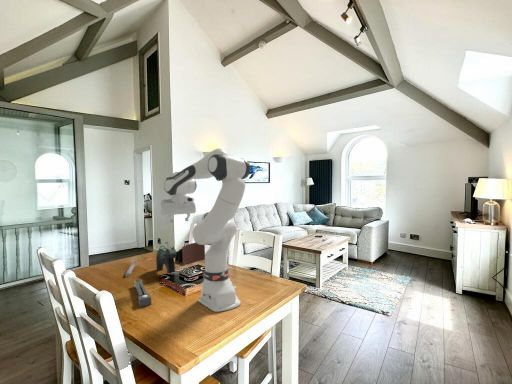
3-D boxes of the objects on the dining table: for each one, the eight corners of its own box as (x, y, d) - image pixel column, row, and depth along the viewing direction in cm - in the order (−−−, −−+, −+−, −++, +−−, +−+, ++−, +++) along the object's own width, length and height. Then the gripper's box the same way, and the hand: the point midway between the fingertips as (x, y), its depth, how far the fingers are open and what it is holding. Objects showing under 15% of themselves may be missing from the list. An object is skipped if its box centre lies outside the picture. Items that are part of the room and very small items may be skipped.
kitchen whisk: (120, 279, 158) (120, 268, 158) (133, 262, 191) (132, 254, 191) (131, 278, 160) (131, 267, 159) (142, 262, 192) (141, 253, 192)
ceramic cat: (177, 275, 164) (177, 243, 163) (168, 277, 159) (167, 245, 158) (162, 267, 177) (162, 238, 177) (153, 270, 173) (152, 240, 172)
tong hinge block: (151, 304, 124) (151, 296, 124) (139, 307, 122) (139, 299, 122) (149, 300, 128) (149, 293, 128) (138, 303, 126) (138, 295, 125)
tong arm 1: (142, 300, 127) (142, 294, 127) (139, 301, 127) (139, 295, 127) (137, 285, 146) (137, 280, 146) (134, 285, 146) (134, 280, 145)
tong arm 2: (147, 299, 129) (147, 293, 128) (144, 300, 128) (144, 294, 128) (141, 284, 147) (141, 279, 147) (138, 285, 147) (138, 279, 146)
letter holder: (205, 259, 197) (205, 240, 197) (182, 265, 182) (182, 245, 181) (197, 256, 204) (196, 238, 203) (174, 263, 188) (174, 243, 188)
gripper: (161, 199, 150) (162, 223, 151) (196, 198, 161) (196, 220, 161) (159, 199, 156) (160, 222, 156) (193, 198, 166) (193, 219, 167)
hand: (179, 221), depth 159 cm, fingers open, 8 cm apart
